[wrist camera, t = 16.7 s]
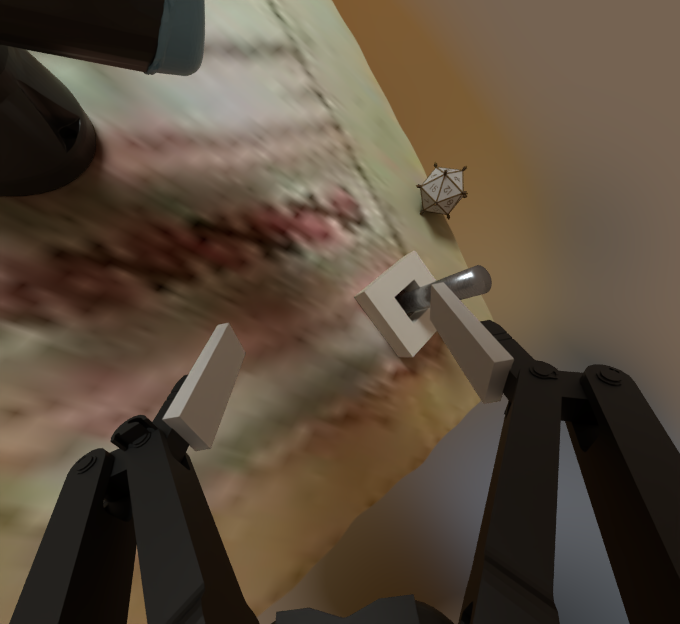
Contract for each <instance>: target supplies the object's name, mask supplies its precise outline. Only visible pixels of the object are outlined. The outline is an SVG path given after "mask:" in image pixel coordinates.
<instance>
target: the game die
mask: <svg viewBox="0 0 680 624" xmlns="http://www.w3.org/2000/svg"><path fill="white" fill-rule="evenodd" d="M434 167H435V169H434V170H433V171H432V173H431V174H430V175H429V176H428V178H427V179H426V180H425V181H424V183H423V184H422V185H419V184H418V185H416V186H417V188H420V190H421V197H422V205H423V210H421V211H420V214H423V212H424V211H428V212H434V213H439V214H445V215H447V218H448V219H449V218H450V215H449V213H450V212H451V211H452V209H453V208H454V207H455V206H456V205H457V203H458V202H459V201H460V200H461V198H462V197H463V198H466V197H467V195H466V194H468V193H467V192H465V191H464V190H463V171H464V170H465V169H466V168H467V166H465V167H464V168H463V169H462V170H458V169H450V168H441V167H437V163H436V162H435V164H434Z"/></svg>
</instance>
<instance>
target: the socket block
mask: <svg viewBox="0 0 680 624" xmlns="http://www.w3.org/2000/svg"><path fill="white" fill-rule="evenodd" d="M435 281H436V280H435V278H434V277H433V275H432V274H431V273H430V271H429V270H428V268H427V267H426V265H425V264H424V263H423V261H422V260H421V258H420V257H419V255H418V254H417V253H416V251H415V250H414V251H412V252H411V253H409V254H407V255H406V256H404V257H402V258H401V259H400V260H399V261H397V262H396V263H395V264H394V265H392V266H391V267H390V268H389V269H388V270H386V271H385V272H384V273H383V274H381V275H380V276H379V277H378V278H377V279H375V280H374V281H373V282H372V283H370V284H369V285H368V286H367V287H366V288H364V289H363V290H362V291H361V292H359V293H358V294H357V295H356V296H354V298H355V299H356V300H357V302H358V303H359V304H360V306H361V307H362V308H363V310H364V311H365V312H366V314H367V315H368V316H369V318H370V319H371V320H372V322H373V323H374V324H375V326H376V327H377V328H378V330H379V331H380V332H381V334H382V335H383V337H384V338H385V339H386V341H387V342H388V343H389V345H390V346H391V347H392V349H393V350H394V351H395V353H396V354H397V355H398V357H414V356H415V354H416V353H417V352H418V351H419V350H420V349H421V348H422V347H423V346H424V345H425V343H426V342H427V341H428V340H429V339H430V338H431V337H432V336H433V335H434V333H435V332H436V331H437V330H436V328H435V327H434V325H433V324H432V322H431V321H430V308H426V309H423V310H419V311H415V312H414V313H413V314H412V315H411V316H410V317H408V316H407V314H406V313H405V311H404V310H403V309H402V307H401V306H400V305H399V303H398V302H397V300H396V299H395V298H394V297H395V296H396V295H397V294H398V293H400V292H401V291H402V290H403V289H404V290H405V292H409V291H412V290H414V289H417V288H419V287H422V286H425V285H427V284H430V283H432V282H435Z"/></svg>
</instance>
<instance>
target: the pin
mask: <svg viewBox="0 0 680 624" xmlns="http://www.w3.org/2000/svg"><path fill="white" fill-rule="evenodd" d="M442 282H444V283H445V284H446V285H447V287H448V288H449V289H450V290H451V291H452V292H453V293H454V294H455V295H456V296H457V297H458V298H459V300H462V299H466V298H470V297H473V296H477V295H481V294H485V293H487V292H489V290H490V288H491V284H492V283H491V277H490V274H489V273H488V271H487V270H486V269H485V268H484V267H482V266H479V265H477V266H474V267H472V268H469V269H466V270H464V271H461V272H458V273H456V274H453V275H451V276H448V277H445V278H443V279H440V280H438V281H435V282H432V283H430V284H427V285H425V286H422V287H419V288H417V289H414V290H412V291H409V292H406V293H404V294H401V295H399V296H396V297H395V299H396V300H397V302H398V303H399V305H400V306H401V307H402V309H403V310H404V311H405V313H406V314H407V313H411V312H415V311H419V310H423V309H426V308H430V303H431V284H436V283H442Z"/></svg>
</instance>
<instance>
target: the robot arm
mask: <svg viewBox="0 0 680 624" xmlns="http://www.w3.org/2000/svg"><path fill="white" fill-rule="evenodd" d="M204 40H205V4H204V0H0V196H23V195H33V194H38V193H43V192H47V191H50V190H54V189H56V188H59V187H61V186H64V185H66V184H68V183H69V182H71V181H73V180H74V179H76V178H77V177H78V176H79V175H81V174H82V173H83V172H84V171H85V170H86V168H87V167H88V166H89V164H90V163H91V161H92V159H93V156H94V153H95V148H96V137H95V132H94V129H93V126H92V124H91V122H90V120H89V118H88V116H87V115H86V113H85V112H84V110H83V109H82V107H81V106H80V104H79V103H78V101H77V100H76V98H75V97H74V96H73V94H72V93H71V92H70V91H69V90H68V88H67V87H66V86H65V85H64V84H63V83H62V82H61V81H60V80H59V79H58V78H57V77H55V76H54V75H53V74H52V73H51V72H50V71H49V70H48V69H47V68H46V67H44V66H43V65H42V64H41V63H40V62H39V61H38V60H37V59H36V58H35V57H33V56H32V55H31V54H30V53H29V52H28V51H27V50H31V51H36V52H41V53H47V54H52V55H57V56H62V57H67V58H73V59H78V60H83V61H88V62H94V63H99V64H104V65H109V66H115V67H120V68H125V69H130V70H136V71H141V72H144V73H145V74H148V75H149V74H151V75H153V74H155V73H163V74H172V75H180V76H188V75H192V74H193V73H195V72H196V71H197V70H198V69H199V68H200V66H201V63H202V59H203V53H204ZM430 321H431V322H432V324H433V325H434V327H435V328H436V330H437V332H438V333H439V335H440V336H441V338H442V339H443V341H444V342H445V344H446V346H447V347H448V349H449V350H450V352H451V353H452V355H453V357H454V358H455V360H456V361H457V363H458V364H459V366H460V368H461V369H462V371H463V372H464V374H465V375H466V377H467V379H468V380H469V382H470V383H471V385H472V386H473V388H474V390H475V391H476V393H477V394H478V396H479V397H480V399H481V401H482V402H483V404H486V403H492V402H497V401H501V398H502V395H503V393H504V395H505V396H506V397H507V398H508V400H509V401H508V405H507V407H506V410H505V413H504V414H505V418H504V423H503V427H502V432H501V437H500V441H499V446H498V450H497V455H496V459H495V464H494V469H493V473H492V478H491V482H490V487H489V492H488V497H487V501H486V505H485V510H484V515H483V519H482V524H481V528H480V533H479V538H478V542H477V547H476V552H475V556H474V561H473V565H472V570H471V574H470V577H469V581H468V584H467V588H466V592H465V596H464V600H463V605H462V609H461V613H460V618H459V623H458V624H560V623H559V616H558V611H557V609H556V606H555V604H554V599H553V579H554V557H555V534H556V512H557V511H556V510H557V490H558V468H559V467H558V466H559V444H560V422H561V421H565V423H566V425H567V429H568V432H569V435H570V438H571V441H572V445H573V448H574V451H575V454H576V457H577V460H578V463H579V466H580V470H581V473H582V476H583V479H584V482H585V485H586V489H587V492H588V495H589V498H590V501H591V504H592V507H593V510H594V514H595V517H596V520H597V523H598V526H599V529H600V532H601V536H602V538H603V542H604V545H605V548H606V551H607V554H608V557H609V561H610V564H611V567H612V570H613V573H614V576H615V579H616V582H617V586H618V589H619V592H620V595H621V598H622V601H623V604H624V607H625V611H626V614H627V617H628V620H629V623H630V624H680V453H679V452H678V450H677V448H676V447H675V445H674V444H673V442H672V441H671V439H670V437H669V436H668V435H667V433H666V431H665V430H664V428H663V426H662V425H661V423H660V421H659V420H658V418H657V417H656V415H655V414H654V412H653V410H652V409H651V407H650V406H649V404H648V402H647V401H646V399H645V398H644V396H643V394H642V393H641V391H640V390H639V388H638V386H637V385H636V383H635V382H634V381H633V380H632V378H631V377H630V376H629V375H627V374H625V373H624V372H622V371H621V370H618V369H616V368H613V367H610V366H606V365H591V366H588V367H587V368H586V370H585V371H584V373H579V372H566V371H558V370H557V369H556V368H555V367H553V366H552V365H550V364H548V363H545V362H542V361H536V360H534V359H533V358H532V357H531V356H530V355H529V354H528V353H527V352H526V351H525V350H524V349H523V348H522V347H521V346H520V345H519V344H518V343H517V342H516V341H515V340H514V339H512V337H511V336H510V335H509V334H507V332H506V331H505V330H504V329H503V328H502V327H501V326H500V325H498V324H496V323H495V322H493V321H491V320H487V321H481V322H480V321H479V320H478V319H477V318H476V317H475V316H474V315H473V314H472V313H471V312H470V310H469V309H468V308H467V307H466V306H465V305H464V304H463V303H462V302H461V301H460V300H459V298H458V297H457V296H456V295H455V294H454V293H453V292H452V291H451V290H450V289H449V288H448V287H447V285H446V284H445V283H444V282H442V283H436V284H431V303H430ZM245 354H246V352H245V351H244V349H243V347H242V345H241V343H240V342H239V340H238V338H237V336H236V334H235V333H234V331H233V329H232V327H231V325H230V324H229V323H225V324H220V325H217V327H216V329H215V330H214V332H213V334H212V335H211V337H210V339H209V341H208V342H207V344H206V346H205V347H204V349H203V351H202V352H201V354H200V356H199V358H198V359H197V361H196V363H195V364H194V366H193V368H192V369H191V371H190V373H189V375H184V376H183V377H182V378H181V379H180V380H179V381H178V382H177V383H176V385H175V386H174V388H173V389H172V391H171V394H169V396H168V398H167V401H165V402H164V404H163V406H162V407H161V409H160V410H159V412H158V414H157V415H156V417H155V419H154V420H153V422H151V421H150V420H149V419H148V418H147V417H146V416H145V415H138V416H134V417H132V418H130V419H128V420H127V421H126V422H124V423H123V424H122V425H120V426H119V427H118V429H117V430H116V431H115V432H114V434H113V435H112V437H111V442H112V443H113V444H114V445H116V446H117V447H119V449H117V450H115V451H113V452H110V453H109V452H107V451H106V450H104V449H103V448H98V449H95V450H93V451H91V452H89V453H87V454H86V455H84V456H83V457H82V458H81V459H79V460H78V461H77V462H76V463H75V464H74V465H73V467H72V468H71V469H70V471H69V473H68V474H67V477H66V480H65V482H64V485H63V487H62V490H61V492H60V495H59V497H58V500H57V503H56V505H55V508H54V510H53V513H52V515H51V518H50V521H49V523H48V526H47V528H46V531H45V533H44V536H43V538H42V541H41V544H40V546H39V549H38V551H37V554H36V556H35V559H34V562H33V564H32V567H31V569H30V572H29V574H28V577H27V579H26V582H25V585H24V587H23V590H22V592H21V595H20V597H19V600H18V603H17V605H16V608H15V610H14V613H13V615H12V618H11V620H10V623H9V624H127V617H128V609H129V601H130V593H131V585H132V577H133V570H134V562H135V554H136V546H137V549H138V557H139V564H140V571H141V579H142V586H143V594H144V601H145V609H146V616H147V623H148V624H259V621H258V619H257V618H256V616H255V614H254V613H253V611H252V610H251V609H250V607H249V606H248V605H247V603H246V601H245V599H244V597H243V594H242V592H241V589H240V587H239V584H238V581H237V579H236V576H235V574H234V571H233V568H232V566H231V563H230V561H229V558H228V555H227V553H226V550H225V548H224V545H223V542H222V540H221V537H220V535H219V532H218V529H217V527H216V524H215V522H214V519H213V516H212V514H211V511H210V509H209V506H208V504H207V501H206V498H205V496H204V493H203V491H202V488H201V485H200V483H199V480H198V478H197V475H196V472H195V470H194V467H193V465H192V462H191V459H190V457H189V455H188V454H187V453H186V451H187V449H188V447H189V445H190V446H191V447H192V448H193V449H194V450H195V451H199V450H205V449H211V446H212V444H213V441H214V438H215V435H216V433H217V430H218V427H219V425H220V422H221V419H222V416H223V414H224V411H225V408H226V406H227V403H228V400H229V397H230V395H231V392H232V389H233V387H234V384H235V381H236V378H237V376H238V373H239V370H240V368H241V365H242V362H243V359H244V357H245ZM272 624H454V623H453V622H452V621H451V620H449V619H448V618H447V617H446V616H445V615H444V614H442V613H441V612H439V611H438V610H437V609H435V608H434V607H432V606H430V605H428V604H426V603H423V602H420V601H416V600H415V599H414V595H413V594H412V595H404V596H397V597H389V598H381V599H378V600H376V601H374V602H373V603H371V604H369V605H368V606H366V607H364V608H362V609H361V610H359V611H357V612H355V613H354V614H352V615H350V616H348V617H346V618H342V617H338V616H335V615H331V614H328V613H325V612H322V611H319V610H315V609H312V608H303V609H296V610H288V611H280V612H277V613H276V621H274V622H273V623H272Z"/></svg>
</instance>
